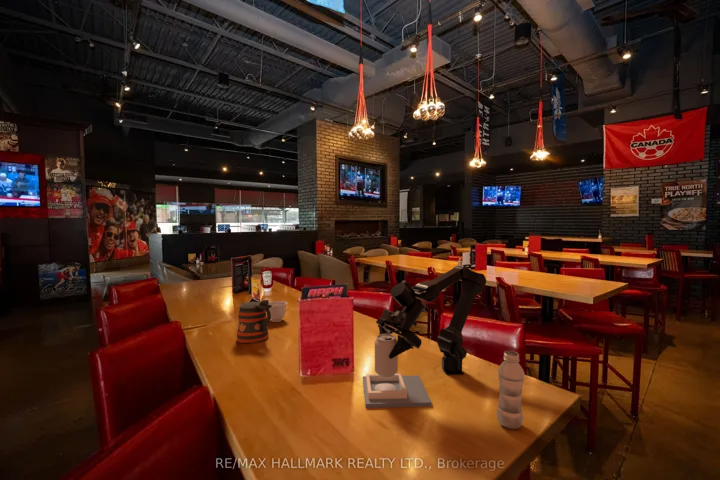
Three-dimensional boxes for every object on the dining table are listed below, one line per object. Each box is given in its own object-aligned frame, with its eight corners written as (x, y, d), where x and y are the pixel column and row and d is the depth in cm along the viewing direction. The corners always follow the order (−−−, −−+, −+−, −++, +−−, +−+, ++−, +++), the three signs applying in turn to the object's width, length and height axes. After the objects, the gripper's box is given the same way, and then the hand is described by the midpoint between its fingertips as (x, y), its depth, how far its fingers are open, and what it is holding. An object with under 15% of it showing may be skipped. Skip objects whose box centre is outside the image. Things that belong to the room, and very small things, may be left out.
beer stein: (282, 336, 153) (281, 296, 152) (261, 347, 140) (260, 303, 139) (252, 331, 161) (251, 292, 160) (229, 340, 148) (229, 298, 147)
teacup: (259, 324, 171) (259, 306, 171) (271, 317, 186) (271, 300, 185) (280, 326, 169) (280, 307, 169) (290, 318, 184) (290, 301, 183)
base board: (418, 378, 112) (418, 369, 112) (431, 406, 95) (431, 396, 95) (362, 379, 111) (362, 370, 111) (365, 407, 94) (365, 397, 94)
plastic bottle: (491, 418, 89) (493, 349, 88) (514, 417, 90) (516, 348, 89) (504, 433, 83) (505, 358, 82) (528, 432, 83) (530, 358, 82)
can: (387, 380, 97) (387, 342, 96) (369, 372, 102) (369, 336, 102) (402, 372, 102) (402, 336, 102) (384, 365, 108) (384, 330, 107)
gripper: (380, 294, 111) (353, 330, 106) (414, 306, 95) (384, 350, 90) (398, 313, 115) (373, 348, 111) (433, 327, 99) (406, 370, 94)
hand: (382, 353), depth 101 cm, fingers closed on can, 7 cm apart
